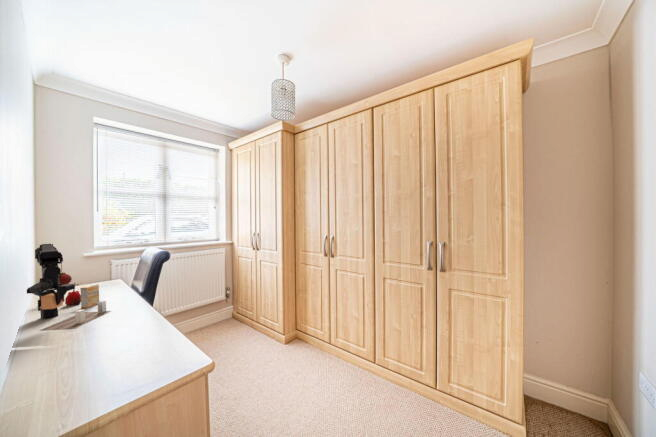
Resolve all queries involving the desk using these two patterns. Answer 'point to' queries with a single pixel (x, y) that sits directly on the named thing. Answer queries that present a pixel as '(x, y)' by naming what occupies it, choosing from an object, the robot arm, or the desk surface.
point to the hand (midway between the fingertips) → (52, 305)
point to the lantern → (64, 279)
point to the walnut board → (74, 321)
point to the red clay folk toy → (73, 298)
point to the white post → (80, 316)
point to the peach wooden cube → (49, 302)
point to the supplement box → (89, 295)
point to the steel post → (101, 306)
